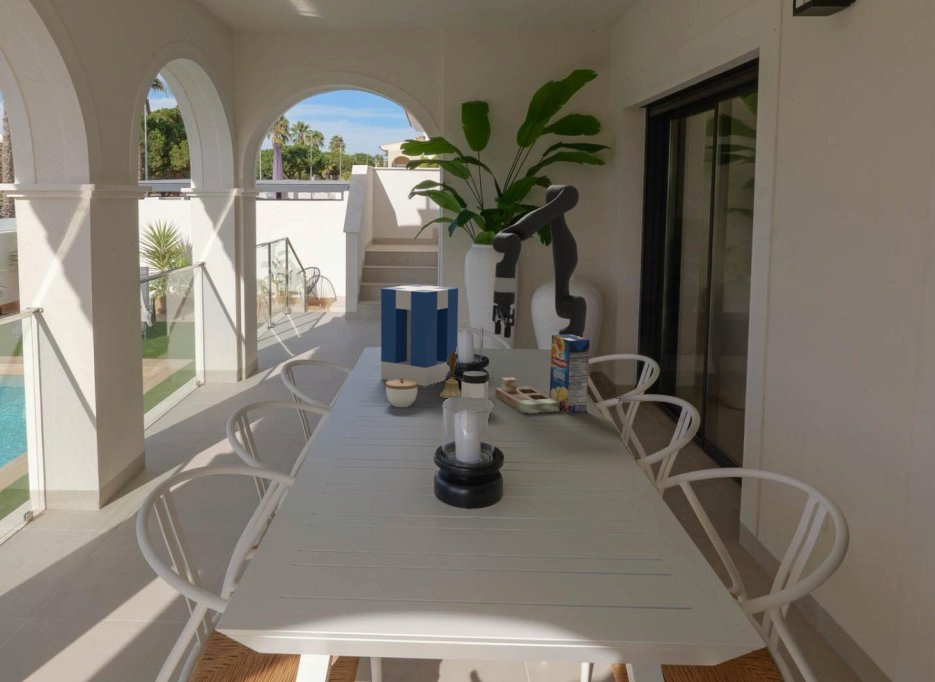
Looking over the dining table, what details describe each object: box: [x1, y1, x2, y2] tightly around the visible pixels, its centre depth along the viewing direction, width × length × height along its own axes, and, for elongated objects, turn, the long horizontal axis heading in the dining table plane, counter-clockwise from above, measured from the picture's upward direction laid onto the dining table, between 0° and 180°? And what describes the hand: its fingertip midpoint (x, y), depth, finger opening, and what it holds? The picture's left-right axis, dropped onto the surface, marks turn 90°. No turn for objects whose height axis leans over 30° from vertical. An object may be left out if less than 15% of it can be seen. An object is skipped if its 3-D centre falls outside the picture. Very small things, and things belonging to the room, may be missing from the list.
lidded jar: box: [385, 378, 419, 408], centre depth 265 cm, size 11×11×9 cm
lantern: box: [380, 284, 459, 387], centre depth 306 cm, size 21×21×35 cm
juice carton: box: [549, 334, 591, 414], centre depth 264 cm, size 12×8×24 cm, turn 23°
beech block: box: [501, 376, 518, 391], centre depth 277 cm, size 4×4×4 cm
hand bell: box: [439, 352, 461, 399], centre depth 278 cm, size 8×8×16 cm
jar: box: [460, 370, 489, 400], centre depth 261 cm, size 9×8×12 cm
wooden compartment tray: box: [494, 385, 560, 414], centre depth 271 cm, size 13×25×3 cm, turn 19°
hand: (502, 335), depth 281 cm, fingers open, 8 cm apart
